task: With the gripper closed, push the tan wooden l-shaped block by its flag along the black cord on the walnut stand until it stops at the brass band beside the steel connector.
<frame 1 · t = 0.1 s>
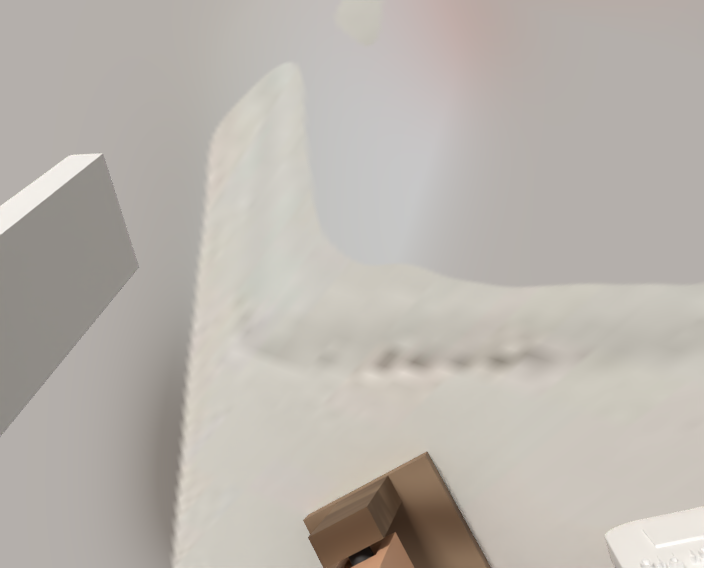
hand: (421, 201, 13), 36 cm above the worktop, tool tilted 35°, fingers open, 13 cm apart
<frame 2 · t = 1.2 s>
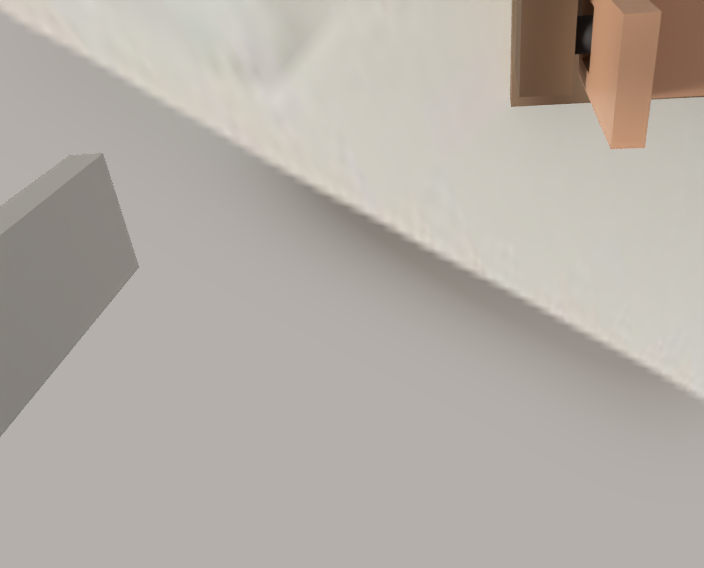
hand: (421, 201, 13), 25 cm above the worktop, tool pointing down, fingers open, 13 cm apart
tan wooden l-shaped block: (664, 45, 23), point 12 cm above the worktop, slide at 0.0 cm
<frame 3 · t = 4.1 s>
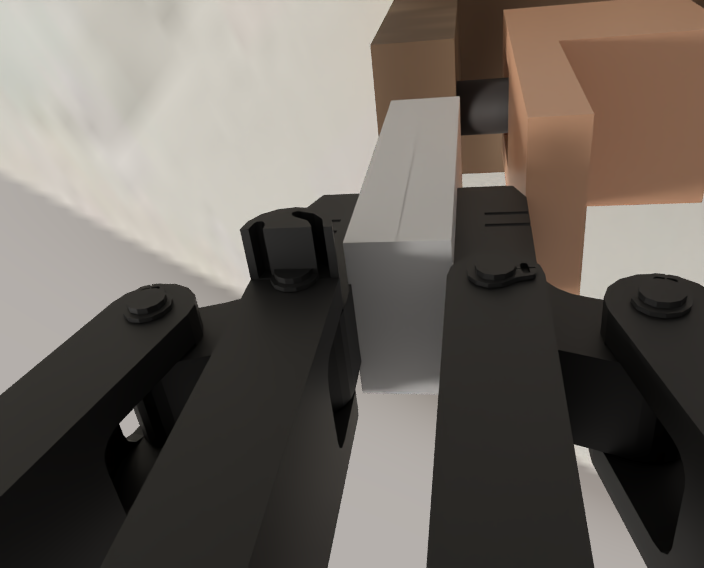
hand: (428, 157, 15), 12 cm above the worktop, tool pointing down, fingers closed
tan wooden l-shaped block: (614, 134, 15), point 12 cm above the worktop, slide at 0.7 cm, touching gripper
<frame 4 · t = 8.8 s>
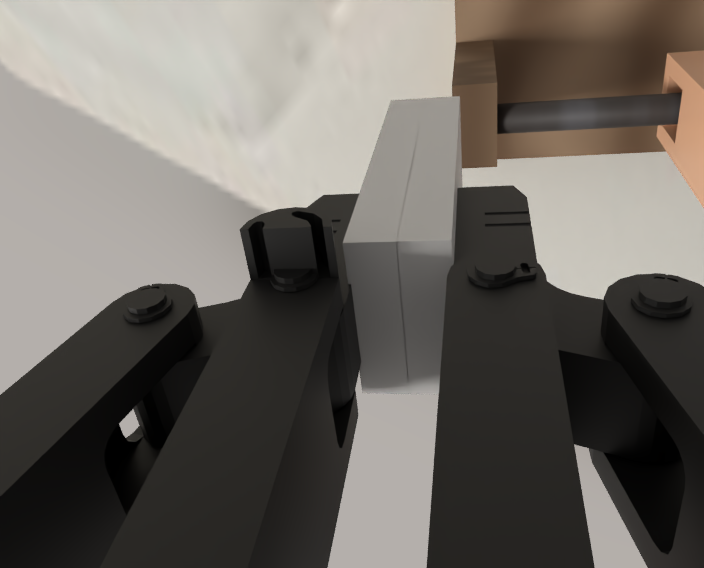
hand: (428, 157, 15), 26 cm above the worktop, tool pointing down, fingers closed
cord stand: (655, 57, 38), on the worktop
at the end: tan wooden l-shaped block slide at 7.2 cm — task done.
